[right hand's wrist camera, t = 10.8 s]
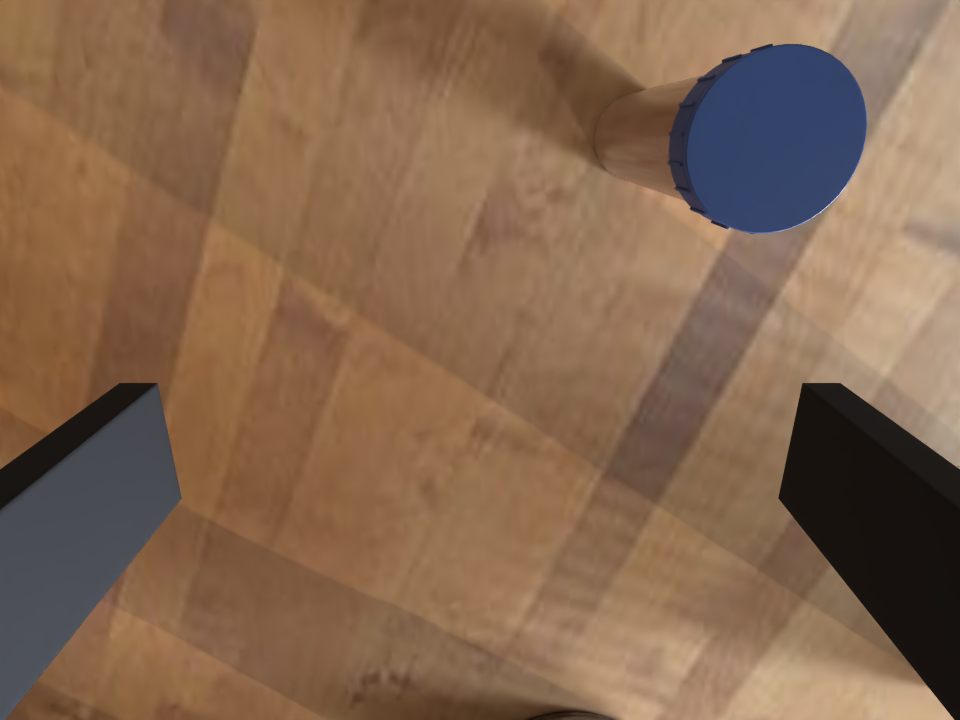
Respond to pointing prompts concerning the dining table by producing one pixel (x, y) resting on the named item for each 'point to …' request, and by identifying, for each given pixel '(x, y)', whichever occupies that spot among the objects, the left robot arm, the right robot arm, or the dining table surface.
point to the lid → (768, 138)
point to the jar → (641, 136)
